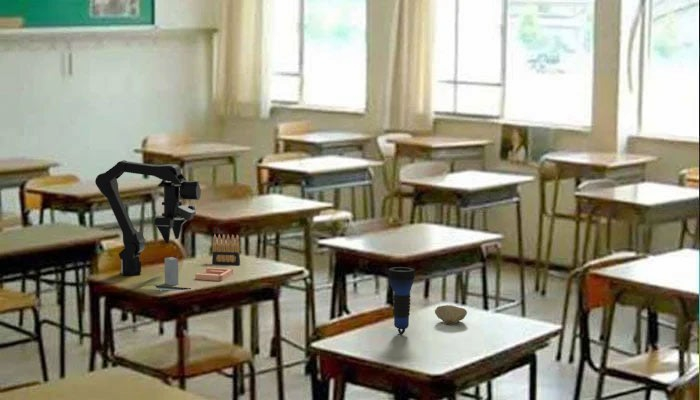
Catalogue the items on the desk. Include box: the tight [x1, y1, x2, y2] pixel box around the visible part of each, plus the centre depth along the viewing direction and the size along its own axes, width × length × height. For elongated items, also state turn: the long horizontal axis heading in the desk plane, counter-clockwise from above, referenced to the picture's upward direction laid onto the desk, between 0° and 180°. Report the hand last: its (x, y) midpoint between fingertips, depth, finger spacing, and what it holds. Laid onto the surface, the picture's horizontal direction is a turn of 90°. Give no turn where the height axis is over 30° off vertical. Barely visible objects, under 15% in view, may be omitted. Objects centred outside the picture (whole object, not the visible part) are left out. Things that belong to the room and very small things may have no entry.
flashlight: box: [387, 266, 416, 335], centre depth 350 cm, size 8×8×20 cm
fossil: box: [434, 304, 468, 325], centre depth 364 cm, size 9×4×10 cm
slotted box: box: [194, 267, 234, 282], centre depth 423 cm, size 10×12×3 cm
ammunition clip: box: [211, 233, 241, 266], centre depth 449 cm, size 11×2×12 cm, turn 84°
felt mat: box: [155, 285, 192, 292], centre depth 409 cm, size 11×9×1 cm
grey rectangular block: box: [164, 256, 179, 288], centre depth 409 cm, size 4×3×10 cm
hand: (172, 241), depth 426 cm, fingers open, 9 cm apart
